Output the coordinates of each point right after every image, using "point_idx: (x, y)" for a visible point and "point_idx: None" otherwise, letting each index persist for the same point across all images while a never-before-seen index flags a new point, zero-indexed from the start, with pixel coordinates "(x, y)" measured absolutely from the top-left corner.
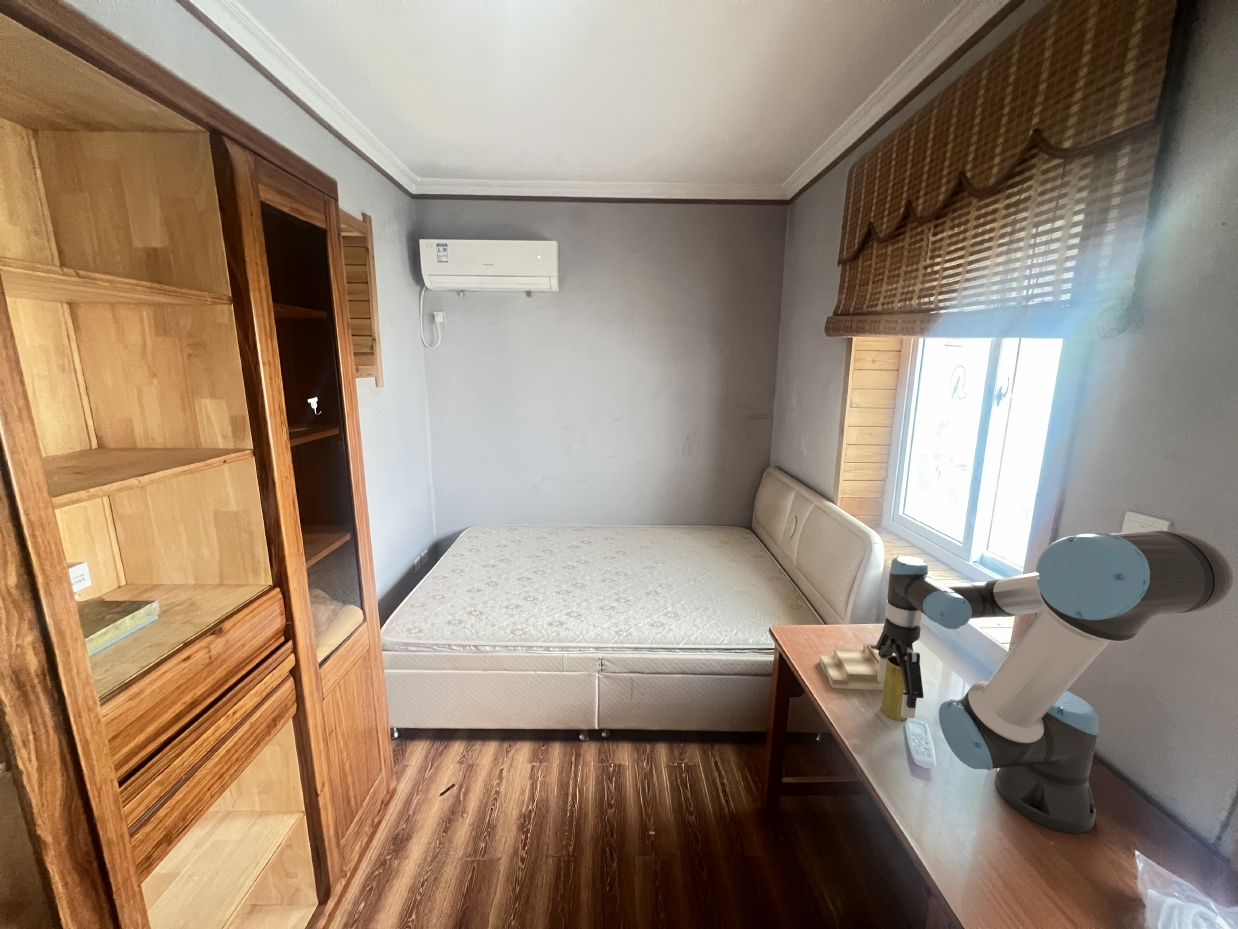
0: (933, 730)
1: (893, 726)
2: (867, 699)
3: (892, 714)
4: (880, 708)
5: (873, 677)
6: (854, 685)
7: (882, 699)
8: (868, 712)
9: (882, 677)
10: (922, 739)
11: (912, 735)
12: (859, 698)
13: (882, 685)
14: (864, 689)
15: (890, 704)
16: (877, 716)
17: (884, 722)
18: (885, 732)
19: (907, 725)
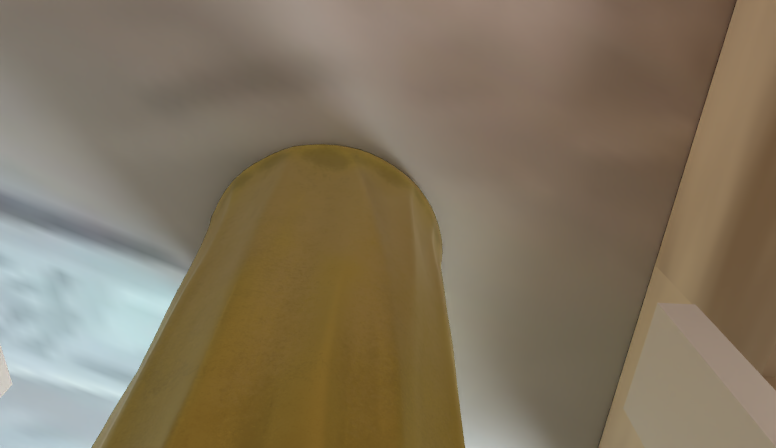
0: None
1: (131, 165)
2: (537, 92)
3: (221, 219)
4: (364, 154)
5: (765, 283)
6: (762, 21)
7: (357, 207)
8: (321, 2)
9: (675, 384)
10: (14, 318)
11: (43, 268)
12: (564, 6)
13: None
14: (696, 133)
15: (208, 250)
16: (262, 75)
17: (176, 105)
18: (12, 44)
19: (171, 286)
